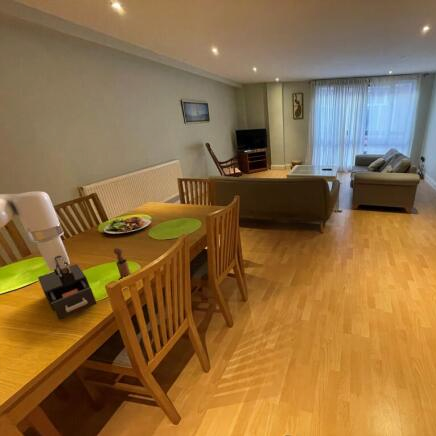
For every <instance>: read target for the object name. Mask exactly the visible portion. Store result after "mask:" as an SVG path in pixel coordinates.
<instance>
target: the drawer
mask: <svg viewBox="0 0 436 436" xmlns="http://www.w3.org/2000/svg"><path fill="white" fill-rule="evenodd" d="M74 289H77V290H78V291H79V292H76V293H74V294H71V295H69V296H66V297H64V298H63V296H62V294H64V293H67V292H69V291H72V290H74ZM49 293H50V295H51V297H52V300H53V302H51V305H52V307H53V309H54V313H55V315H56V317H57V319H58V321H59V322H60V321H62V320H64V319H66V318H69V317H71V316H73V315H76V314H77V313H80V312H82V311H84V310H86V309H89V308H91V307H93V306H95V305H98V303H97V300H96V297H95V295H94V293H93V290H92V288H91V286H90V287H88V288H87V286H86V284H85V283H84V281H83V280H79V281H77V282H76V283H73V284H71V285H68V286H66V287H61V288H58V289H55V290H53V291H50V292H49Z"/></svg>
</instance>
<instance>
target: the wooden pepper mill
mask: <svg viewBox="0 0 436 436" xmlns="http://www.w3.org/2000/svg"><path fill="white" fill-rule="evenodd" d="M113 253H114V254H115V255H116V256H117V257H116V259H117V261H116V263H115V264H116V267H117V269H118V273H119V277H118V279H117V281H118V280H120V279H122V278H123V277H126V276H128V275H130V274H132V273H131V270H130V267H129V263H128V260H127V259H125V258H124V255H122V253H123V248H122V247H120V246H117V247H115V248H114V249H113Z"/></svg>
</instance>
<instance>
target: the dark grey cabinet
mask: <svg viewBox="0 0 436 436" xmlns="http://www.w3.org/2000/svg"><path fill="white" fill-rule="evenodd" d="M68 266H69V268H70V270H71V272H72V273H73V275H74V278H75V280H76V282H77V281H79V280H83V281H84V283H85V284H86V286H87V288H88V287H90V288H91V286H90V283H89V281H88V279H87V278H88V277H86V274H85V273H84V271H83V270H82V269H81V268H80V266H79V264H78V263H75V264H71V265H68ZM37 278H38V281H39V283H40V286H41V289H42V291H43V294H44V296H45V298H46V300H47V302H48V304H49V306H50V308H51V310H52V312H54V313H55V311H54V309H53V307H52V305H51V302H53V300H52V297H51V295H50V293H49V292H50V291H53V290H55V289H58V288H61V287H63V285H62V283H61V281H60V279H59V275H56V273H55V271H54V270H53V271H50V272H49V273H45V274H43V275H40V276H38V277H37Z"/></svg>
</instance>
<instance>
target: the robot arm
mask: <svg viewBox="0 0 436 436" xmlns="http://www.w3.org/2000/svg"><path fill="white" fill-rule="evenodd" d="M15 218H19V220H20V222H21V224H22V226H23V229H24V231H25V233H26V235H27V237H28V239H29V240H30V241H29V242H31V243H36V246H37V248H38V250H39V252H40V255H41V256H42V259H43V261H44V263H45V265H46V267H47V269H48V271H50V272H54V271H55V273H56V275H59V279H60V281H61V283H62V285H63V287H66V286H68V285H71V284H73V283H76V280H75V278H74V275H73V273H72V272H71V270H70V268H69V266H70V264H71V262H70V258H69V256H68V253H67V250H66V247H65V245H64V243H63V240H62V238H61V237H62V236H63V235H64V234H65V231H64V229H63V227H62V225H61V222H60V220H59V217H58V215H57V213H56V209H55V208H54V204H53V203H52V200H51V198H50V195H49V194H48V193H47V192H45V191H42V190H41V191H40V190H35V191H26V192H21V193H0V229H1V228H4V227H5V226H6V225H7V224H8V223H9V222H10V221H11V220H14V219H15Z"/></svg>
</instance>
